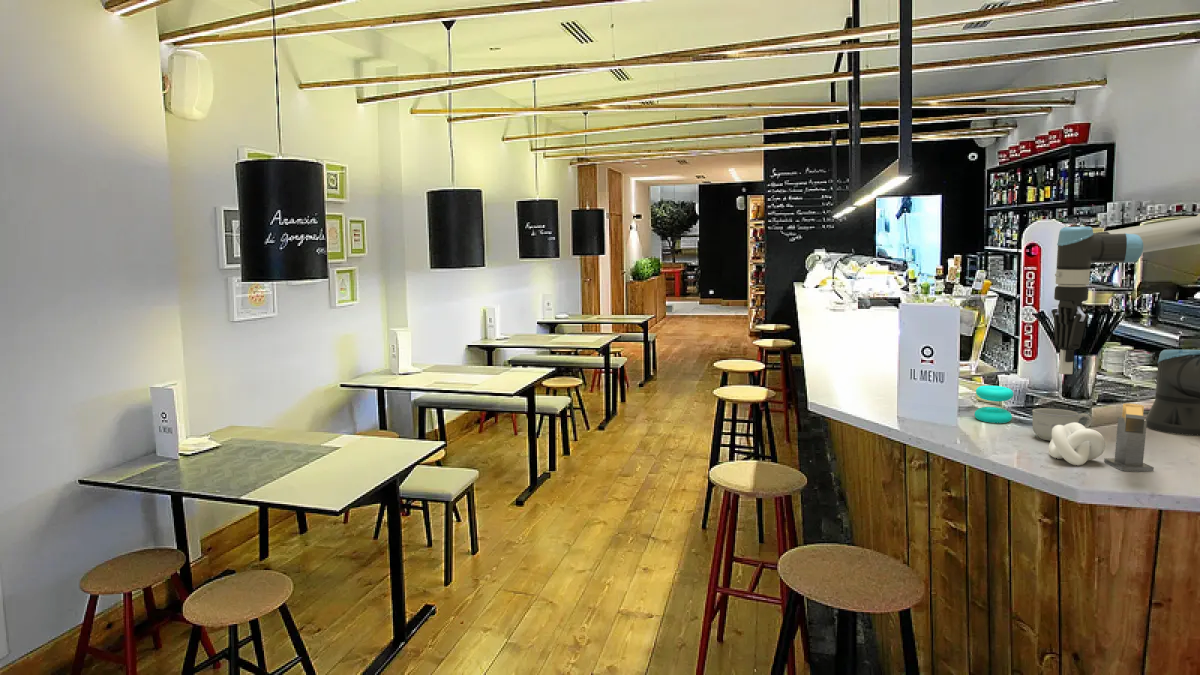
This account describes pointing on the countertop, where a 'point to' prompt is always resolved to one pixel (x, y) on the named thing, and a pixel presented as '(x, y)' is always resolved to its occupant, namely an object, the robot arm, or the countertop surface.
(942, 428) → the countertop surface
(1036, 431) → the teacup
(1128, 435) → the post
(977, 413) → the donuts
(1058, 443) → the white knot
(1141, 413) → the bar
